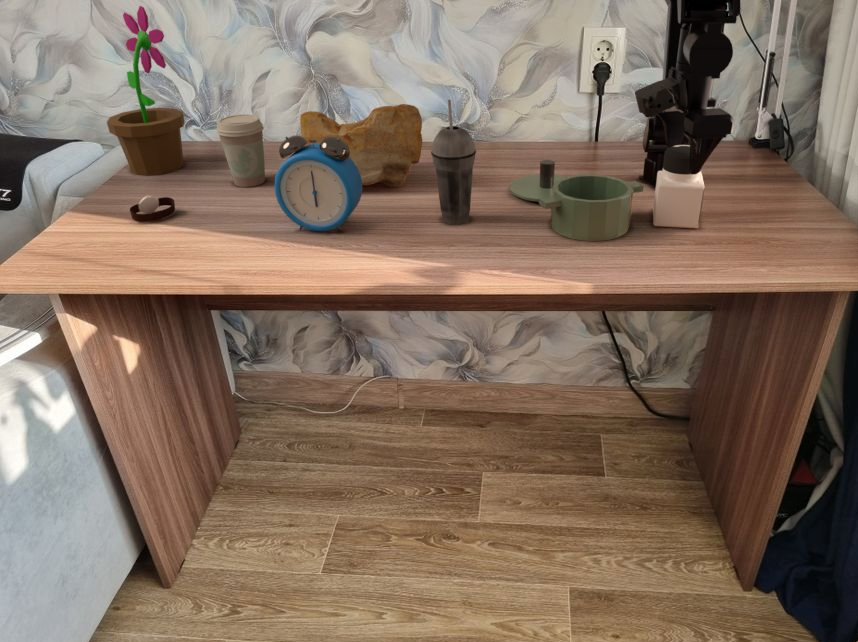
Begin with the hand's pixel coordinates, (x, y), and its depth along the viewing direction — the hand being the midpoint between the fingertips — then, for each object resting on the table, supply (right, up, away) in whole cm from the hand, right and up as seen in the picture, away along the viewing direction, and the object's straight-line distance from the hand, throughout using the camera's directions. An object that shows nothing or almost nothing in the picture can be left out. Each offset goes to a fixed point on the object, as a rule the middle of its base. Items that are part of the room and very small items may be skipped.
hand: (682, 164), depth 117 cm
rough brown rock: (-53, +3, +25) cm, 59 cm away
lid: (-20, 0, +17) cm, 26 cm away
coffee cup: (-77, +3, +25) cm, 81 cm away
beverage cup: (-36, -8, +7) cm, 38 cm away
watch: (-89, -7, +11) cm, 90 cm away
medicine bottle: (0, -8, +5) cm, 10 cm away
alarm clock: (-58, -9, +6) cm, 59 cm away
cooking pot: (-14, -9, +4) cm, 17 cm away
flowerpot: (-98, +8, +34) cm, 104 cm away
